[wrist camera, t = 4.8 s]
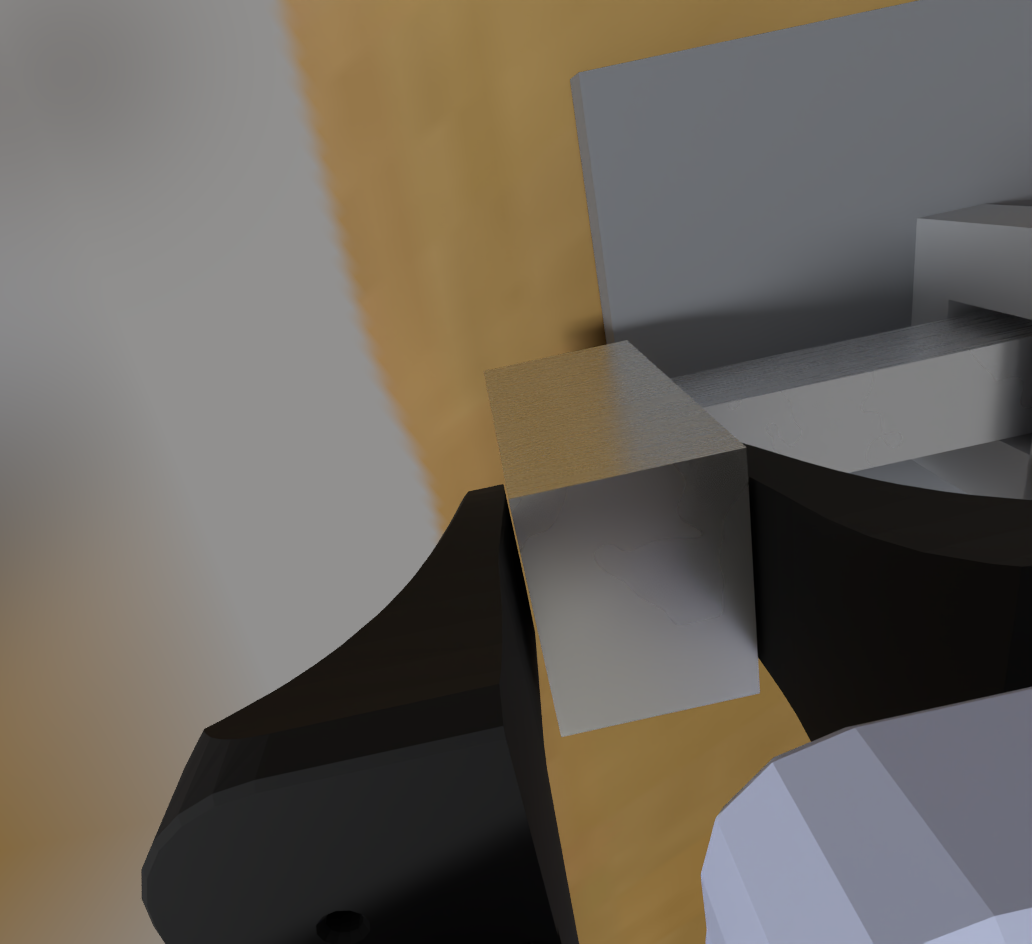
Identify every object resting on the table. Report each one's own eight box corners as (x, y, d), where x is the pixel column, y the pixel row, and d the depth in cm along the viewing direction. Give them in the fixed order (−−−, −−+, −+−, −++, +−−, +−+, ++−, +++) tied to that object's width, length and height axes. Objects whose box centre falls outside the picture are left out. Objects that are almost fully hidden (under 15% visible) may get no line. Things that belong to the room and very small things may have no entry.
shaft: (1082, 415, 15) (1429, 545, 10) (519, 537, 15) (561, 736, 10) (1112, 235, 14) (1547, 273, 8) (483, 370, 14) (508, 498, 8)
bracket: (1172, 503, 20) (1400, 605, 15) (644, 619, 20) (707, 758, 15) (1313, -78, 14) (1752, -208, 9) (569, 79, 14) (633, 28, 9)
